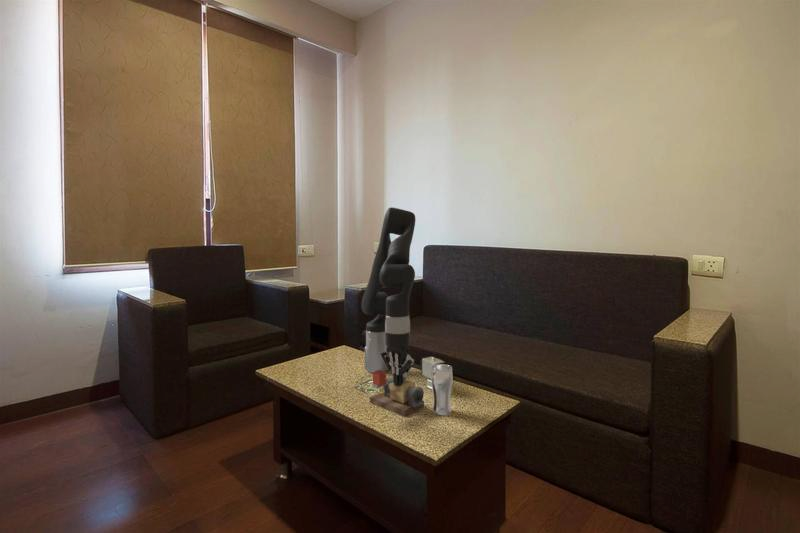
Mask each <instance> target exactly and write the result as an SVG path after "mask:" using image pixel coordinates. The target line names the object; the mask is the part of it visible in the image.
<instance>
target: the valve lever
mask: <svg viewBox="0 0 800 533" xmlns="http://www.w3.org/2000/svg"><path fill="white" fill-rule="evenodd" d="M389 377H390V378H388V377H387V371H385V372H384V371H381V370H378V371H375V372H373V373H372V388H375V389H379V388H383V386H385V385H387V384H390V383H393V375H392V376H389ZM403 379H408V372H407V373H404V374H403Z"/></svg>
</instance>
